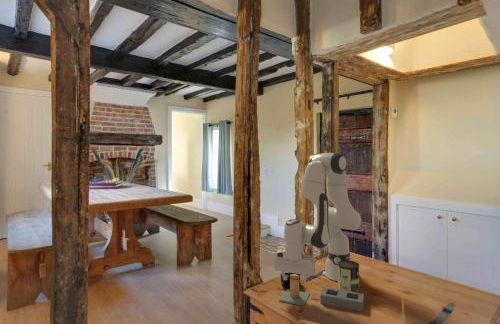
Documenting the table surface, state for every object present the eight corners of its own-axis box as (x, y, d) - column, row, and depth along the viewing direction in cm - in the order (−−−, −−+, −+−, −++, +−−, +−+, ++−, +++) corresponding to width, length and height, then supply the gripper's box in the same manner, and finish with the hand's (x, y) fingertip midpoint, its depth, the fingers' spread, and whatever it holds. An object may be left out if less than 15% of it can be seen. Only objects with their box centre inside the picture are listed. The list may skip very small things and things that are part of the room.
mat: (287, 290, 149) (287, 288, 149) (310, 294, 143) (310, 293, 143) (279, 301, 138) (279, 299, 138) (303, 306, 133) (303, 304, 133)
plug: (291, 293, 144) (291, 273, 143) (300, 295, 142) (300, 275, 141) (289, 297, 140) (288, 277, 139) (298, 299, 138) (297, 278, 137)
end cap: (299, 282, 158) (298, 270, 157) (301, 288, 150) (300, 275, 150) (280, 283, 158) (280, 270, 158) (282, 289, 151) (281, 276, 150)
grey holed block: (324, 296, 141) (324, 286, 141) (364, 304, 133) (363, 293, 133) (320, 305, 133) (320, 294, 133) (362, 313, 125) (362, 302, 125)
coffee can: (357, 287, 150) (357, 260, 150) (361, 296, 140) (360, 268, 140) (337, 286, 152) (336, 259, 152) (339, 295, 142) (338, 267, 142)
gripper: (316, 253, 139) (317, 282, 139) (276, 249, 148) (277, 275, 148) (313, 258, 133) (314, 287, 133) (272, 252, 142) (273, 280, 142)
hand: (294, 281), depth 141 cm, fingers open, 8 cm apart
